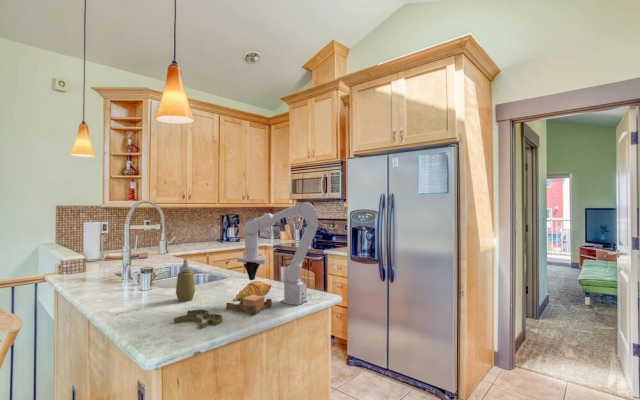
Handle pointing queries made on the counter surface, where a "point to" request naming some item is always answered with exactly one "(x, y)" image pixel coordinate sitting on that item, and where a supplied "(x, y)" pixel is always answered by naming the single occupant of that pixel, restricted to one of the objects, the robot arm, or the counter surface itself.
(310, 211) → the robot arm
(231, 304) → the brown wooden frame
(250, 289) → the croissant
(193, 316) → the cookie cutter
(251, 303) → the peach rectangular block
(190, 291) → the squeeze bottle
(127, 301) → the counter surface
